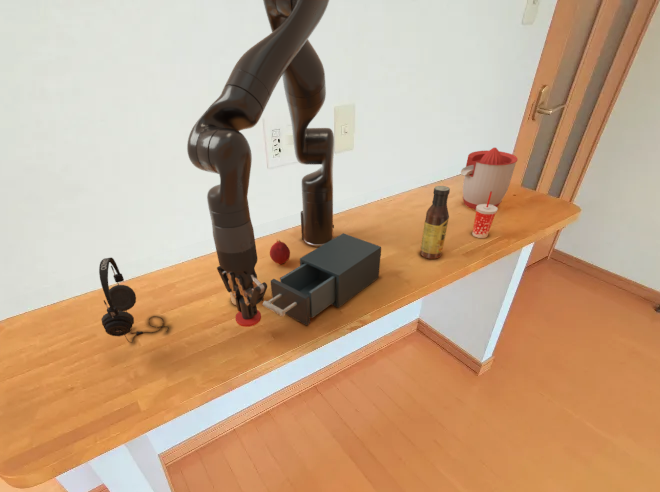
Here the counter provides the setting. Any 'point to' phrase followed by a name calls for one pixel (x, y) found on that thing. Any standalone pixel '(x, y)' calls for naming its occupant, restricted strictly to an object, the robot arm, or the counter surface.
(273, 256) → the onion
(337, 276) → the cabinet
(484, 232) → the beverage cup
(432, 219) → the sauce bottle
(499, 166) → the citrus juicer
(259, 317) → the lid
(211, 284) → the counter surface
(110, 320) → the headphones
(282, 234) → the counter surface
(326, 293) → the drawer
